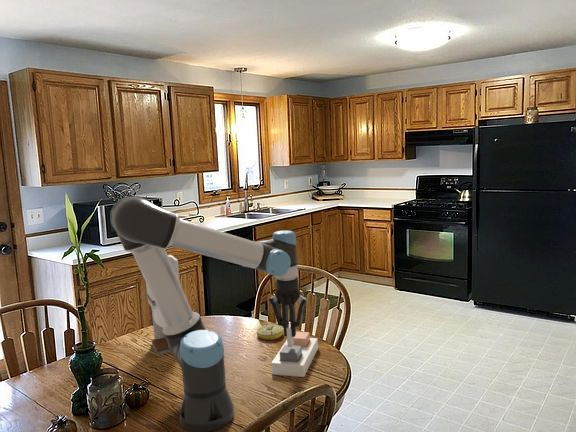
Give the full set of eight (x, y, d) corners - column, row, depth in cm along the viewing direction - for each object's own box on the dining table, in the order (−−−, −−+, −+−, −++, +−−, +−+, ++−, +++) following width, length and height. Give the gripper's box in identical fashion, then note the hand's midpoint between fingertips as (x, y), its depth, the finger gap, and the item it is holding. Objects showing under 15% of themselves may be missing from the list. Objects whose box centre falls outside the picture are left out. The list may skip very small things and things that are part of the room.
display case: (152, 344, 182) (143, 258, 177) (178, 338, 186) (171, 254, 182) (157, 354, 171) (148, 264, 167) (185, 348, 176) (177, 259, 171)
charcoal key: (297, 362, 150) (297, 353, 150) (280, 360, 152) (279, 352, 152) (301, 354, 156) (301, 345, 156) (285, 353, 158) (284, 344, 157)
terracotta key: (306, 346, 162) (305, 338, 162) (289, 345, 164) (289, 337, 163) (309, 340, 168) (309, 332, 167) (294, 339, 169) (293, 331, 169)
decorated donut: (267, 329, 191) (267, 320, 191) (288, 334, 185) (288, 325, 185) (252, 338, 183) (251, 329, 182) (273, 343, 177) (272, 334, 176)
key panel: (304, 377, 148) (303, 365, 148) (271, 374, 151) (271, 362, 151) (318, 348, 169) (317, 338, 169) (289, 346, 172) (289, 336, 172)
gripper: (308, 274, 152) (312, 342, 155) (271, 274, 156) (275, 339, 159) (303, 281, 145) (306, 351, 148) (264, 280, 149) (268, 348, 152)
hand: (290, 345), depth 154 cm, fingers closed
